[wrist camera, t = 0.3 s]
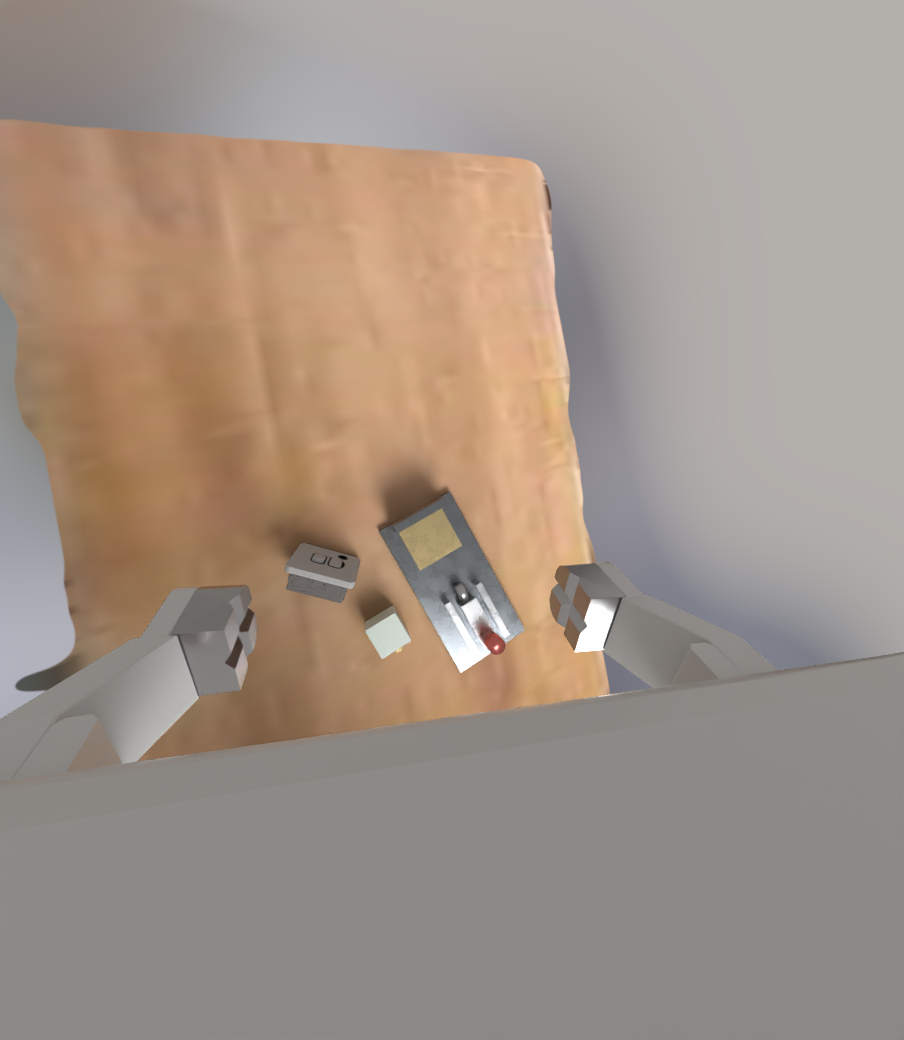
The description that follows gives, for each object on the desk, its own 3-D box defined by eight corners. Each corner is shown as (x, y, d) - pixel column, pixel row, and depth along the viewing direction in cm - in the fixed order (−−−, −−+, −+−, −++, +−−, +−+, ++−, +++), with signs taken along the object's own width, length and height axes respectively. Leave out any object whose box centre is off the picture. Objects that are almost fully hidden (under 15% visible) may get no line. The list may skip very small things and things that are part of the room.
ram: (493, 634, 65) (509, 649, 58) (479, 643, 65) (494, 659, 58) (462, 578, 64) (475, 586, 57) (448, 587, 63) (458, 596, 56)
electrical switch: (361, 558, 62) (358, 571, 53) (351, 588, 62) (347, 607, 53) (301, 541, 60) (288, 552, 51) (291, 573, 60) (276, 590, 51)
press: (522, 628, 68) (540, 641, 61) (459, 670, 65) (470, 688, 59) (448, 492, 64) (458, 489, 58) (378, 531, 62) (380, 533, 55)
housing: (411, 636, 64) (415, 646, 59) (384, 653, 63) (385, 665, 58) (392, 605, 63) (395, 612, 58) (364, 621, 62) (365, 631, 57)
